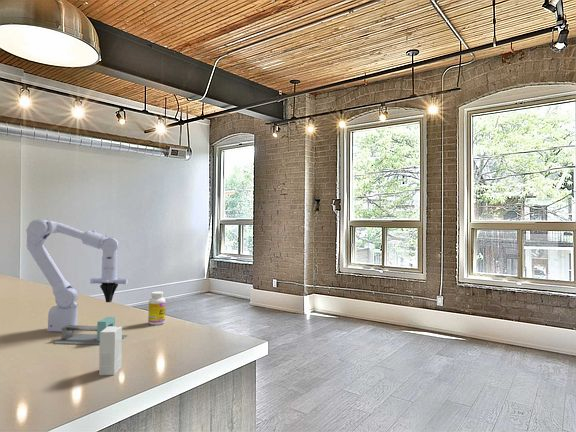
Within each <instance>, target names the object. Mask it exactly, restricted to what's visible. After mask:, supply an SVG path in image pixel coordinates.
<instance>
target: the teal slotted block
mask: <svg viewBox="0 0 576 432" xmlns="http://www.w3.org/2000/svg"><path fill="white" fill-rule="evenodd" d="M96 326H97V331H96V334H97V341H100V332H101V331H102V330H104V329H105V328H106V327H108V326H116V316H105V317H103V318H102V319H99V320H97V325H96Z"/></svg>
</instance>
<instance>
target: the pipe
mask: <svg viewBox="0 0 576 432" xmlns="http://www.w3.org/2000/svg"><path fill="white" fill-rule="evenodd" d="M80 325H81V324H77V325H67V326H65V327H63V328H62V332H61V339H60V340H67V339H69V338H71V337H73V334H74V331H75V332H76V331H77V332H79V331H80V332H97V325H82V326H80ZM120 326H121V327H122V328H123V326H122V325H120ZM108 327H109V326H108Z"/></svg>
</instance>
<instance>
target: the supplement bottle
mask: <svg viewBox="0 0 576 432" xmlns="http://www.w3.org/2000/svg"><path fill="white" fill-rule="evenodd" d="M147 317H148V319H147V320H148V325H151V326H160V325H163V324H164V323H166V299H165V298H164V292H163V291H160V290H159V291H152V292H151V297H150V299H149V300H148V316H147Z"/></svg>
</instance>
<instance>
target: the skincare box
mask: <svg viewBox="0 0 576 432" xmlns="http://www.w3.org/2000/svg"><path fill="white" fill-rule="evenodd" d="M121 326H122V325H115V326H109V327H106V328H105V329H104V330H102V331H101V332H100V345H99V351H98V352H99V354H98V355H99V359H98V360H99V366H98V367H99V368H98V373H99V376H114V375H116V373H118V372H119V370H120V369H122V364H123V363H122V351H123V349H122V348H123V347H122V346H123V345H122V344H123V341H122V340H123V339H122V335H123V326H122V327H121Z"/></svg>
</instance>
